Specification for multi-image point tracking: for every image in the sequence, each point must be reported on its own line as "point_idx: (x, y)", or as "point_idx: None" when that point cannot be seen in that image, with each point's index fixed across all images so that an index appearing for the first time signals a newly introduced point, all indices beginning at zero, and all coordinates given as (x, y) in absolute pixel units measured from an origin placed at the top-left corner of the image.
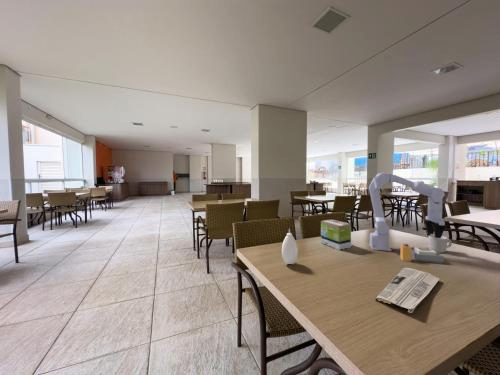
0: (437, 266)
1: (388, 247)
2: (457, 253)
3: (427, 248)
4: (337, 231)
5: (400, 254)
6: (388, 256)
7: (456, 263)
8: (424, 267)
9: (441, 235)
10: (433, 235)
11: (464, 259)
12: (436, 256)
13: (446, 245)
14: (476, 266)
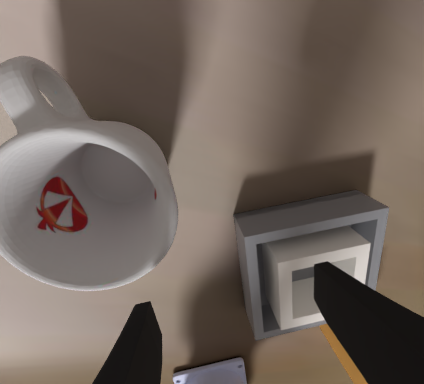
0: (395, 222)
1: (229, 378)
2: (105, 36)
3: (290, 272)
4: None
5: (331, 343)
6: (313, 357)
7: (341, 127)
8: (410, 265)
9: (357, 281)
10: (8, 246)
11: (250, 45)
12: (381, 237)
13: (136, 132)
14: (371, 27)
